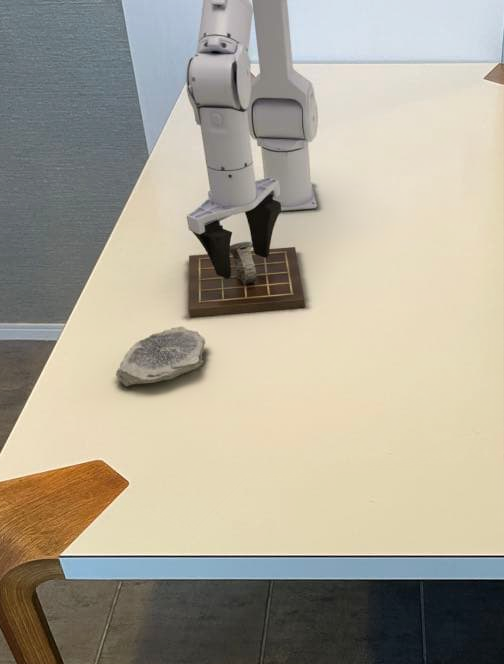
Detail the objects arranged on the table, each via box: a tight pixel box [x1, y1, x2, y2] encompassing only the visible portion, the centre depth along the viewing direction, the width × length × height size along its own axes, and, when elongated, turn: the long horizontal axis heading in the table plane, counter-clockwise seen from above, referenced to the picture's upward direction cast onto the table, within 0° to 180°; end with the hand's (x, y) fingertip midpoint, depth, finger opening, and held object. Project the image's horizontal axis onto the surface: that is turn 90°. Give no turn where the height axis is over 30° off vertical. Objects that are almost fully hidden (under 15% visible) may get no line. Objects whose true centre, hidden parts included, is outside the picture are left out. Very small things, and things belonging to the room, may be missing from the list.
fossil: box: [115, 326, 206, 387], centre depth 101 cm, size 11×4×10 cm
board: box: [187, 246, 306, 318], centre depth 116 cm, size 15×15×1 cm
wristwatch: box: [230, 241, 256, 284], centre depth 113 cm, size 4×6×5 cm, turn 22°
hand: (243, 265), depth 115 cm, fingers open, 7 cm apart
